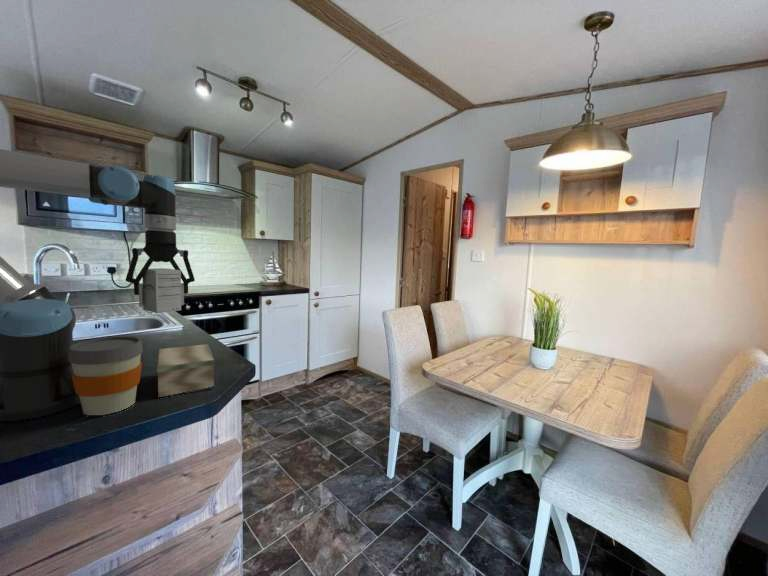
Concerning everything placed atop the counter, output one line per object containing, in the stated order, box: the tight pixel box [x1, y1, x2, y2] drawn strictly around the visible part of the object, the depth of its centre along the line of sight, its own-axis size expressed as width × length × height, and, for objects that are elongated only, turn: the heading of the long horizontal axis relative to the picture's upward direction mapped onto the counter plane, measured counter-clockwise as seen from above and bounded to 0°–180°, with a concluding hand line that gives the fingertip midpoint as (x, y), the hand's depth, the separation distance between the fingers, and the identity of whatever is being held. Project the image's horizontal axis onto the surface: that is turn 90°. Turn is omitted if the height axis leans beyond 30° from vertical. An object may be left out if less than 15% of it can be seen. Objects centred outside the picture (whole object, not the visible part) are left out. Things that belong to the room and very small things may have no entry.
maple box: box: [156, 343, 215, 398], centre depth 87 cm, size 12×16×8 cm
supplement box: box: [142, 267, 182, 314], centre depth 96 cm, size 7×7×13 cm
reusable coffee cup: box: [69, 335, 144, 415], centre depth 72 cm, size 13×13×15 cm
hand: (162, 305), depth 97 cm, fingers closed on supplement box, 10 cm apart
